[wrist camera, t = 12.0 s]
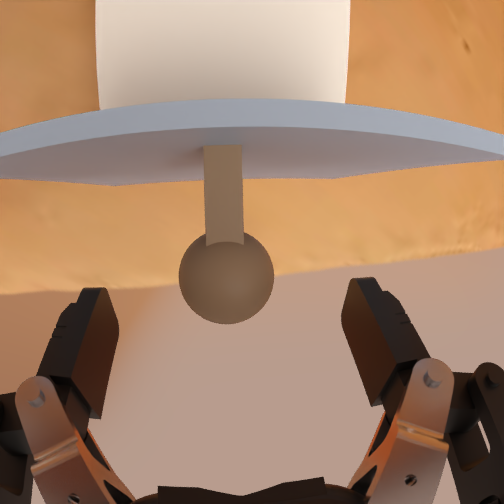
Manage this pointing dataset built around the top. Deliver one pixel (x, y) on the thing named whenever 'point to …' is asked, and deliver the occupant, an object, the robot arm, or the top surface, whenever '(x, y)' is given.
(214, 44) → the carton
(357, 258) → the top surface
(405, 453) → the robot arm
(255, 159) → the box lid
